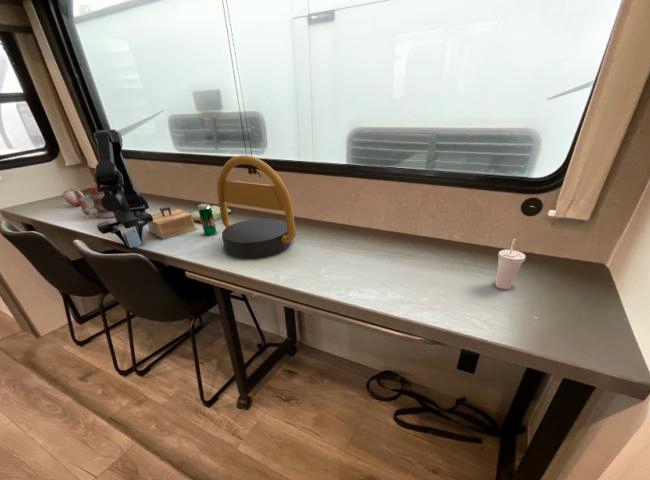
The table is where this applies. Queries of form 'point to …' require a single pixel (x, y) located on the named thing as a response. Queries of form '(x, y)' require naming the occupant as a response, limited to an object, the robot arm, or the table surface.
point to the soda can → (207, 219)
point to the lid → (169, 215)
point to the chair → (257, 233)
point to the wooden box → (172, 227)
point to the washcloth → (215, 213)
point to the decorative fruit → (72, 196)
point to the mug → (96, 199)
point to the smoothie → (508, 266)
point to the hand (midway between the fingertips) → (133, 243)
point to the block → (132, 238)
